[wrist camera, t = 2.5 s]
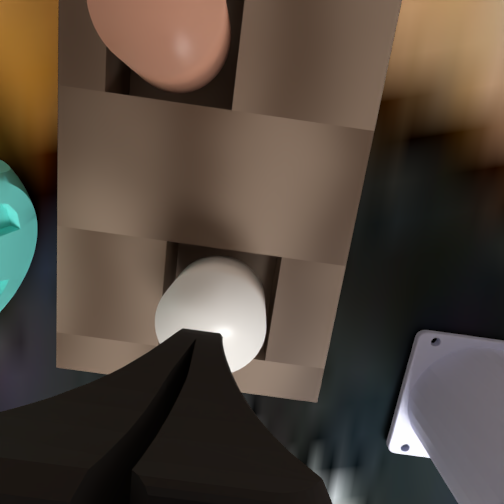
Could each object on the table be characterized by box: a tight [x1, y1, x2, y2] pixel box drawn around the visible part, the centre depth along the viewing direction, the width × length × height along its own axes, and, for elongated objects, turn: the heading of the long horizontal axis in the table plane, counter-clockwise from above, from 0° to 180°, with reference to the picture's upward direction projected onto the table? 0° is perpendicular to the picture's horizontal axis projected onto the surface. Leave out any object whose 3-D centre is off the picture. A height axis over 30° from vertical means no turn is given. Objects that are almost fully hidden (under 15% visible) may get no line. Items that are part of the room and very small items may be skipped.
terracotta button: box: [87, 0, 231, 93], centre depth 12 cm, size 4×4×3 cm
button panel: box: [56, 0, 402, 403], centre depth 15 cm, size 13×21×3 cm, turn 172°
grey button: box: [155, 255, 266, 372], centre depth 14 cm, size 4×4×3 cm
